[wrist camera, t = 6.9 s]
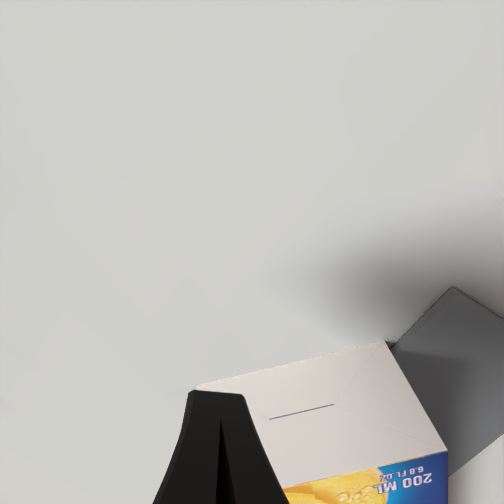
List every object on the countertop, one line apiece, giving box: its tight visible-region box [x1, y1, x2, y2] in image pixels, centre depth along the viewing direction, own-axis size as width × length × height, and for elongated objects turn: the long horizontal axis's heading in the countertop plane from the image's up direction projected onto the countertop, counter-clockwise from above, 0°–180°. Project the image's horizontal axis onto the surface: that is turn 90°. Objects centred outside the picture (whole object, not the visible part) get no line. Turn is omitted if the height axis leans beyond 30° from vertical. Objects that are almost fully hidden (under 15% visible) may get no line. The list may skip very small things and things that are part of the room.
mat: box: [390, 287, 504, 477], centre depth 24 cm, size 11×11×1 cm
